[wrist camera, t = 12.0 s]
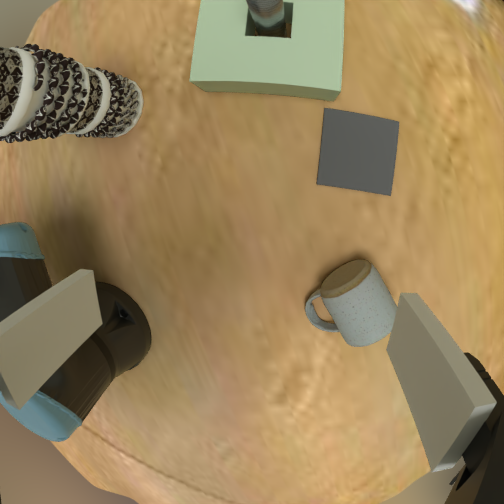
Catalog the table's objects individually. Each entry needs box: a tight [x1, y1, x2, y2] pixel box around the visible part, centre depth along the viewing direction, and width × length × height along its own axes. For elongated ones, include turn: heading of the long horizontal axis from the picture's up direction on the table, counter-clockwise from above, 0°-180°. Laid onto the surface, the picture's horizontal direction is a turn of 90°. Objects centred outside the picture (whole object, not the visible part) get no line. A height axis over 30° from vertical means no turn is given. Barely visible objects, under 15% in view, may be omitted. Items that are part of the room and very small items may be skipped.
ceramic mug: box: [305, 259, 397, 347], centre depth 35 cm, size 11×8×8 cm
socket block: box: [190, 0, 344, 102], centre depth 27 cm, size 15×15×6 cm
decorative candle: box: [0, 44, 144, 143], centre depth 23 cm, size 9×9×25 cm
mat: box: [317, 108, 399, 196], centre depth 33 cm, size 9×9×1 cm
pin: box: [246, 0, 287, 38], centre depth 23 cm, size 3×3×14 cm
